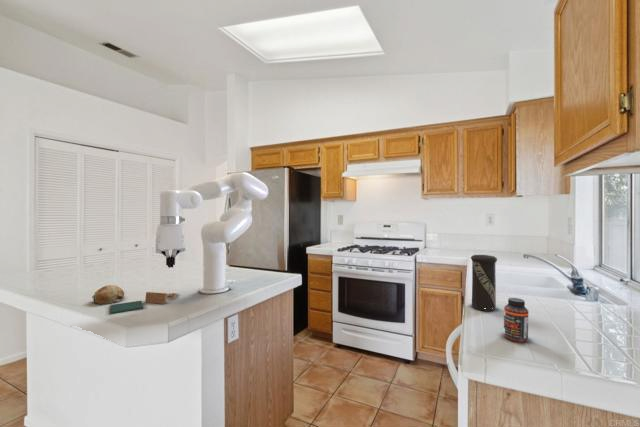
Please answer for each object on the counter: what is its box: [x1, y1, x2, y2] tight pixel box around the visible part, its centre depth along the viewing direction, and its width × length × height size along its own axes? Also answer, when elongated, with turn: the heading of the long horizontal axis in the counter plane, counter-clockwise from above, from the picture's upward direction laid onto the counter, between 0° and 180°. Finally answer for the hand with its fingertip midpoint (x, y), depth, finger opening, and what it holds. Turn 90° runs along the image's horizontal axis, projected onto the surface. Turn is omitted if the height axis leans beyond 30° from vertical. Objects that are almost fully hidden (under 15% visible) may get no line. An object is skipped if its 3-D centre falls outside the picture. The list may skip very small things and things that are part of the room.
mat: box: [109, 300, 144, 315], centre depth 114 cm, size 10×10×1 cm
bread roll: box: [91, 284, 125, 305], centre depth 122 cm, size 10×10×8 cm
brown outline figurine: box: [144, 291, 178, 305], centre depth 126 cm, size 9×4×12 cm
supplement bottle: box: [503, 297, 529, 343], centre depth 87 cm, size 6×6×11 cm
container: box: [470, 254, 498, 312], centre depth 115 cm, size 9×9×20 cm
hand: (170, 266), depth 121 cm, fingers closed
